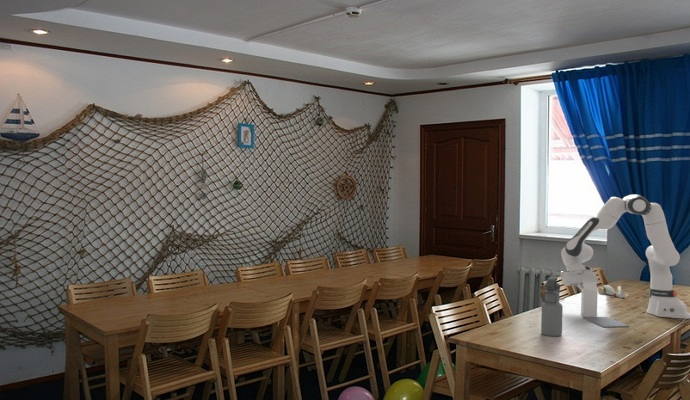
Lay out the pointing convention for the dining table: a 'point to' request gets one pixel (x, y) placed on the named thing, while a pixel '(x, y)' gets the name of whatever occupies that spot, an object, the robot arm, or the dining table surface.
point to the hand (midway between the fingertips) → (584, 290)
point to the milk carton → (589, 299)
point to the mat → (605, 322)
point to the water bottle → (551, 309)
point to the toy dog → (611, 291)
